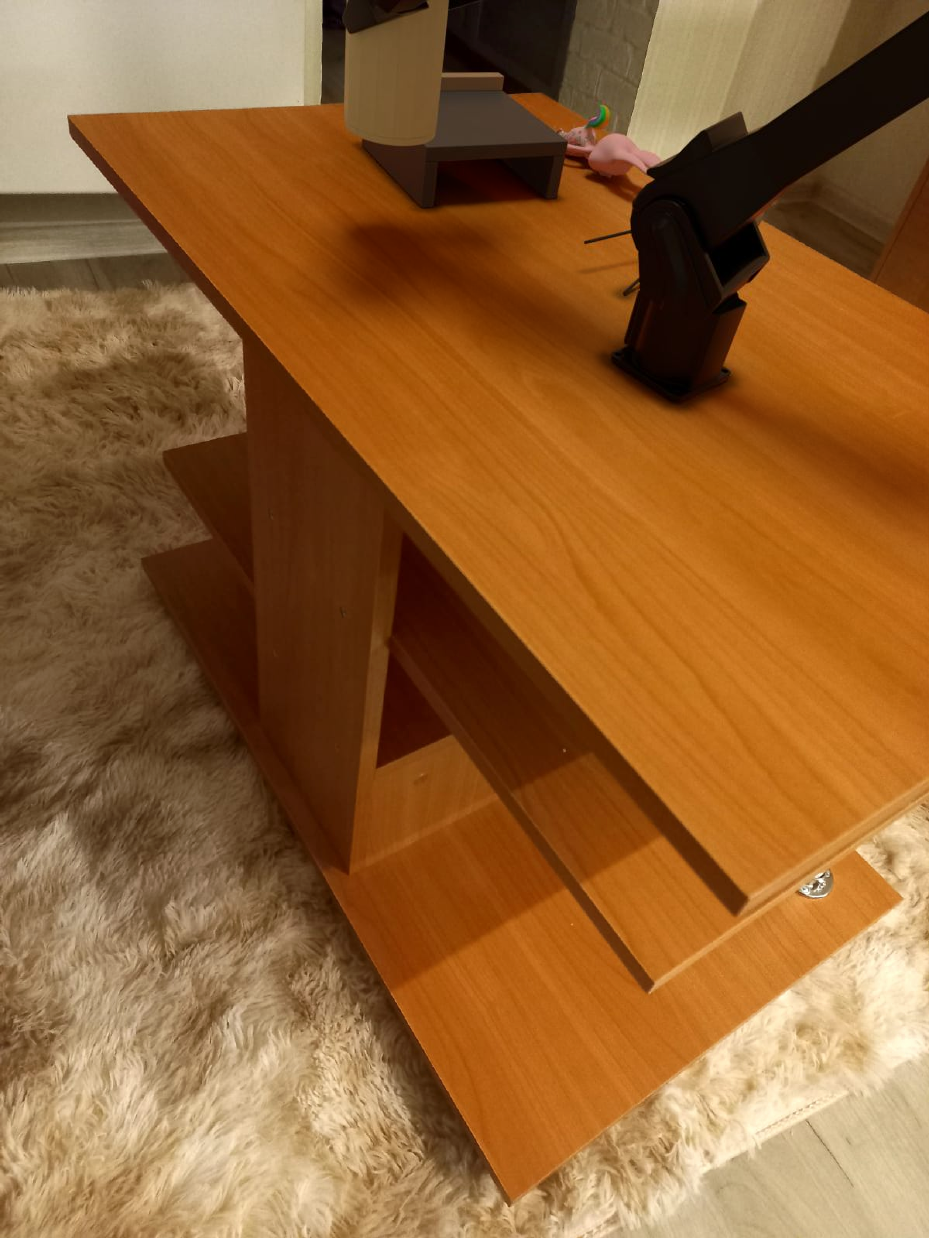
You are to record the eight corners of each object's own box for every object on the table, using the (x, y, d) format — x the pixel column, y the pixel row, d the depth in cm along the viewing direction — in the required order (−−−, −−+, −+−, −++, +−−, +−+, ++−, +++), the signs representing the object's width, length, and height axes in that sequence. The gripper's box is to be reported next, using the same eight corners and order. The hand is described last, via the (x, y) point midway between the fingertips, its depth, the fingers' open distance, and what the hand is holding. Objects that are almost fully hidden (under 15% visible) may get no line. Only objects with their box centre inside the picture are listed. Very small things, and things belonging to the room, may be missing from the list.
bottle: (446, 147, 64) (471, -84, 54) (355, 145, 62) (364, -95, 52) (421, 113, 68) (440, -107, 58) (335, 110, 66) (340, -119, 56)
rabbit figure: (535, 161, 91) (626, 197, 81) (541, 95, 87) (637, 124, 77) (583, 157, 93) (677, 191, 84) (591, 93, 90) (690, 121, 80)
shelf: (557, 198, 82) (571, 126, 77) (421, 208, 76) (428, 131, 72) (489, 140, 89) (498, 72, 85) (361, 145, 84) (364, 73, 79)
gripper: (564, -301, 53) (405, -110, 64) (365, -338, 41) (216, -97, 53) (641, -104, 56) (477, 44, 67) (477, -88, 44) (313, 88, 56)
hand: (381, 19), depth 61 cm, fingers closed on bottle, 7 cm apart
